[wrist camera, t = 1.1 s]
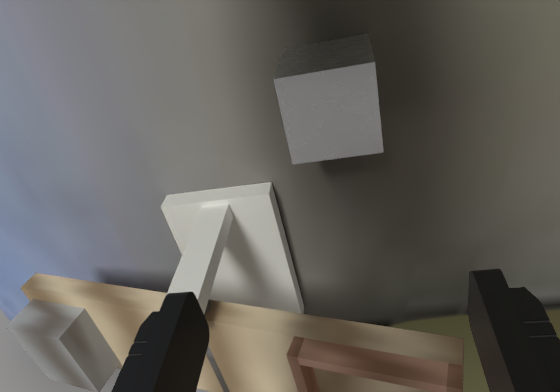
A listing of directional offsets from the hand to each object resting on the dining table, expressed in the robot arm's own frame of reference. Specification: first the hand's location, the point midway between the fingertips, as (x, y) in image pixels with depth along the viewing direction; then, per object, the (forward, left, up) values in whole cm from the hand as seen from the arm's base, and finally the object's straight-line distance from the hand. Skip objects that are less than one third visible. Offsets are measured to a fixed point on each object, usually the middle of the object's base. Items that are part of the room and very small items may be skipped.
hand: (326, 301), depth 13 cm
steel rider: (0, 0, -17) cm, 17 cm away
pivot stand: (+16, +3, -17) cm, 24 cm away
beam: (+16, +3, -8) cm, 18 cm away
